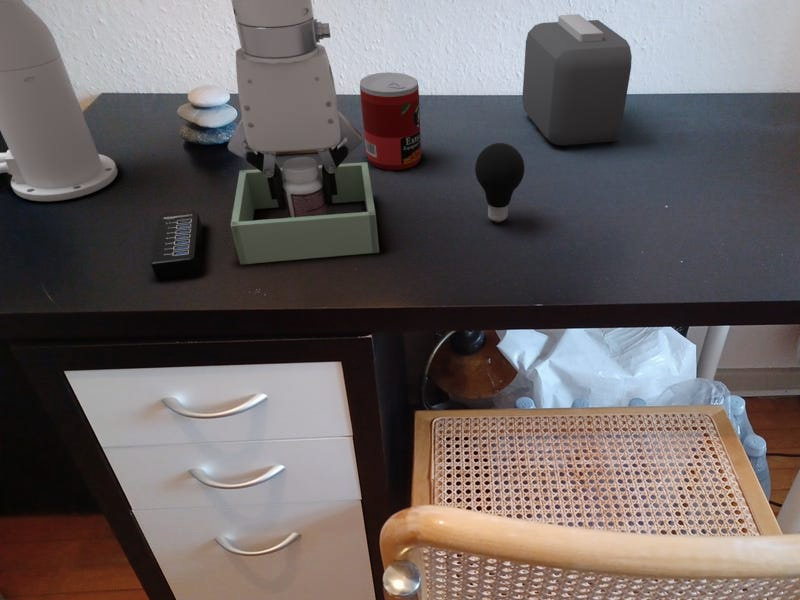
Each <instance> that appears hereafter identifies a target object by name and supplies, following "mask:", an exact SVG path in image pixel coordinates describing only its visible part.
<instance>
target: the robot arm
mask: <svg viewBox="0 0 800 600" xmlns="http://www.w3.org/2000/svg"><path fill="white" fill-rule="evenodd" d="M231 5H232V10H233V15H234V21H235V26H236V30H237V34H238V40H239V45H240V47H239V48H238V49H237V50H236V51H235V72H236V86H237V93H238V94H237V95H238V100H239V107H240V114H241V119H240V121H239V122H238V124H237V125H236V128H235V129H234V131H233V133H232V135H231V137H230V139H229V140H228V143H227V150H228V151H229V152H230V153H232V154H233V155H235V156H238V157H239V158H240V159H244V160H245V161H246V162H247V163H248V164H250V165H251V166H252V167H254V168H256V169H258V170H260V171H261V172H263V175H264V176H265V177H267V179H268V184H269V189H270V194H271V198H272V200H274V199H277V202H278V207H277V208H278V210H284V209H285V208H286V207H285V205H286V203H285V198H284V193H283V188H282V183H283V179H282V174H281V169H280V168H281V167H279V165H278V163H276V158H277V157H276V156H277V155H276V152H287V151H303V150H317V151H318V152H317V154H318V156H319V158H320V160H321V163H322V164H321V165H322V178H323V185H324V191H325V198H326V204H327V207H328V206H334V203H333V201H332V195H338V193H337V184H336V177H335V172H336V168H337V167H338V166H339V165H340V164H343V162H344V161H345V160H346V158H347V157H348V156H349V154H351V152H353V151H354V150H356V148H357V147H359V146H360V145H361V144H362V143H363V138H362V133H360V131H359V130H358V129H357V128H356V127H355V126H354V125H353V124H352V123H351V122H350V121H349V120H348V119H347V118H346V116H344V115H343V114H342V112H340V109H339V103H338V96H337V90H336V86H335V80H334V76H333V75H334V74H333V71H332V67H331V62H330V60H329V56H328V53H327V50H326V48H325V46H324V45H323V44H318V43H320V42H321V41H320V40H324V39H330V38H332V37H331V30H330V23H329V22H322V21H318V19H317V18H315V16H314V10H313V2H312V0H231ZM0 133H1V135H2V137H3V139H4V142H5V144H6V146H7V148H8V149H7V150H6V152H0V174H3V173H7V174H8V175H11V176H12V177H11V179H10V186H11V188H12V190H13V192H14V193H15V194H16V195H17V196H18V197H20V198H23V199H25V200H27V201H28V200H29V201H32V202H33V201H34V202H60V201H68V200H73V199H78V198H81V197H84V196H87V195H90V194H93V193H95V192H98V191H100V190H102V189H103V188H106V187H107V186H108V185H110V184H111V183H112V182H113V181H114V180H115V179H116V177H117V176H118V168H117V164H116V162H115V161H114V160H113V159H112V158H110V157H109V156H106V155H104V154H100V153H99V152H98V149H97V148H96V145H95V142H94V139H93V136H92V134H91V131H90V128H89V126H88V123H87V121H86V118H85V115H84V113H83V110H82V108H81V105H80V102H79V100H78V97H77V95H76V91H75V89H74V86H73V84H72V81H71V79H70V76H69V73H68V71H67V69H66V65H65V63H64V60H63V57H62V55H61V53H60V50H59V47H58V44H57V42H56V40H55V38H54V35H53V33H52V32H51V30H50V29H49V27H48V26H47V24H46V23H45V21H44V20H43V19H42V18H41V17H40V16H39V15H38V14H37V13H36V12H35V11H34V10H33V9H32V8H31V7H30V6H29V5H28V4H27V3H26V2H24V0H0ZM342 135H343V136H344V139H343V140H342V139H341V136H342ZM341 140H342V141H341ZM245 141H246V142H247V143H246V142H245ZM336 145H337V146H336ZM334 146H336V147H335V148H334V149H333V150H332V147H334ZM261 152H264V154H262V153H261Z"/></svg>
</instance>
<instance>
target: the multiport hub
mask: <svg viewBox="0 0 800 600" xmlns="http://www.w3.org/2000/svg"><path fill="white" fill-rule="evenodd" d="M201 221H202V220H201V218H200V214H199V211H197V210H189V211H179V212H169V213H162V214H159V215H158V216H157V222H156V229H155V234H154V240H153V246H152V251H151V257H150V265H151V268H152V271H153V273H154V276H155V278H156V281H159V282H163V281H170V280H177V279H178V280H179V279H187V278H194V277H195V278H196V277H197V276H199V275H200V269H201V255H202V241H203V225H202V222H201Z"/></svg>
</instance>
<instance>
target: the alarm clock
mask: <svg viewBox="0 0 800 600" xmlns="http://www.w3.org/2000/svg"><path fill="white" fill-rule="evenodd" d="M524 49H525V50H524V65H523V67H524V68H523V80H522V81H523V83H522V99H521V100H522V105H523V110H524V112H525V113H526V114H527V116H528V117H529V118H530V120H531V121H532V123H534V125H535V126H536V127H537V128H538V130H539V131H540V132H541V133H542V135H543V136H544V138H545V139H547V141H549V143H551V144H552V145H555V146H575V145H586V144H596V143H597V144H598V143H608V142H616V141H617V140H618V138H620V134H621V130H622V126H623V120H624V114H625V107H626V102H627V95H628V89H629V83H630V77H631V72H632V56H633V55H632V50H631V46H630V44H629V42H628V40H627V39H625V38H624V37H622V36H621V35H619V34H618V33H617V32H615V30H613V29H611V28H610V27H609V26H607V25H606V24H605V23H603V22H601V21H600V19H592V20H591V19H590V20H589V19H586V18H584V17H583V16H582V15H581V14H578V13H577V14H576V13H575V14H559V15H558V19H557V21H551V22H540V23H537V24H534V26H533V27H532V28H531V29H530V30H529V31H528V32H527V36H526V39H525V48H524Z"/></svg>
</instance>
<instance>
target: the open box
mask: <svg viewBox="0 0 800 600" xmlns="http://www.w3.org/2000/svg"><path fill="white" fill-rule="evenodd" d="M322 165H323V164H320V165H319V164H318V167H319V175H320V176H321V177H322ZM279 168H280V169H281V174H282V179H283V180H284V179H285V178H284V175H283V169H282V167H279ZM335 177H336V184H337V193H338V195H332V201H333V204H341V203H342V204H343V203H357V202H364V203H365V211H360V212H347V213H334V214H329V215H319V216H306V217H294V218H288V217H283V218H281V217H280V218H268V219H257V220H254V214H255V210H262V209H275V208H279V207H278V202H277V199H274V200H272V198H271V194H270V189H269V184H268V179H267V177H265V176H264V175H263V172H261V171H260V170H258V169H257V168H256V169H241V170H239V172H238V179H237V185H236V190H235V197H234V202H233V207H232V214H231V220H230V229H231V233H232V237H233V241H234V244H235V248H236V249H235V250H236V252H237V256H238V260H239V263H240V265H251V264H261V263H274V262H286V261H297V260H307V259H309V260H310V259H320V258H330V257H343V256H354V255H366V254H377V253H378V254H379V253H380V246H379V245H380V244H379V236H378V235H379V234H378V224H377V215H376V208H375V203H374V196H373V190H372V189H373V188H372V184H371V176H370V170H369V164H368V161H364V162H363V161H361V162H351V163H341V164H340V165H339V166H338V167H337V168H336V172H335ZM322 179H323V178H322ZM285 208H286V205H285Z"/></svg>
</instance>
